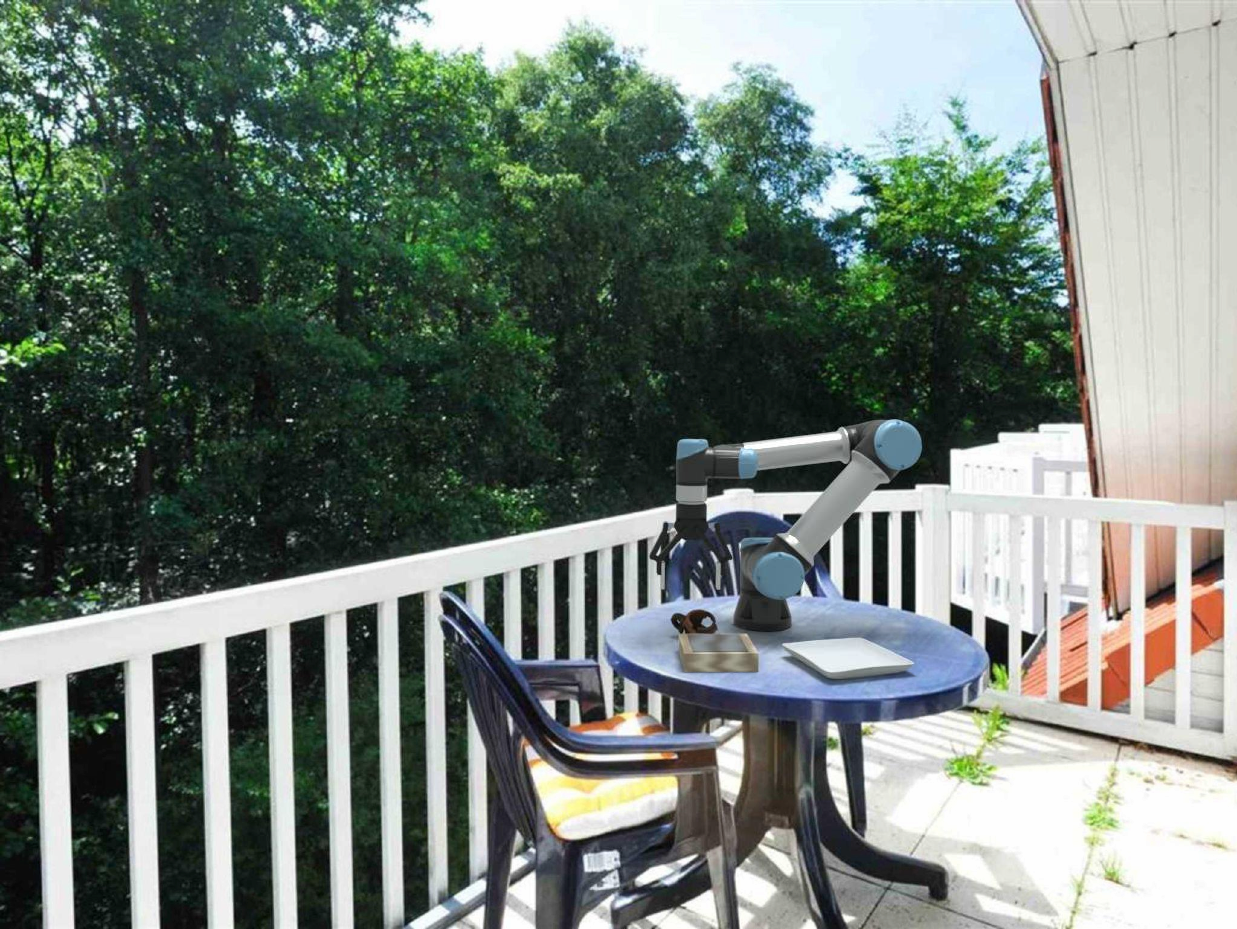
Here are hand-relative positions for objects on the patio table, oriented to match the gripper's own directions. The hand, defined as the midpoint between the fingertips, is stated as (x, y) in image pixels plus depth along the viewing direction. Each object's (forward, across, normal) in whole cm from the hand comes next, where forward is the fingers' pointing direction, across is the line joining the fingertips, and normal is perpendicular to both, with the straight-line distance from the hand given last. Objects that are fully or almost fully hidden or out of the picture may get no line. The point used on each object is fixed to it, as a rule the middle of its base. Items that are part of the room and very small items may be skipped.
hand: (690, 588), depth 205 cm
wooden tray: (+13, -4, +18) cm, 22 cm away
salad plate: (+13, -32, +22) cm, 41 cm away
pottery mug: (+13, -1, -1) cm, 13 cm away
